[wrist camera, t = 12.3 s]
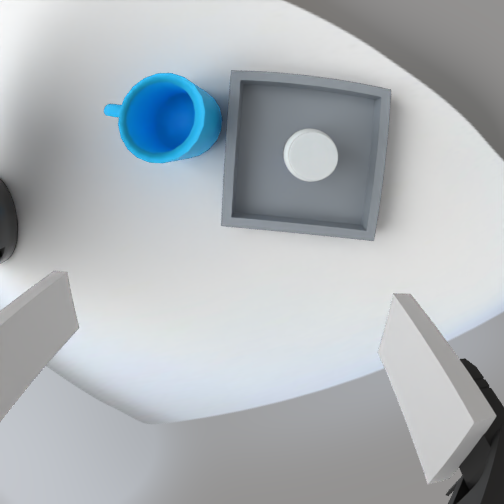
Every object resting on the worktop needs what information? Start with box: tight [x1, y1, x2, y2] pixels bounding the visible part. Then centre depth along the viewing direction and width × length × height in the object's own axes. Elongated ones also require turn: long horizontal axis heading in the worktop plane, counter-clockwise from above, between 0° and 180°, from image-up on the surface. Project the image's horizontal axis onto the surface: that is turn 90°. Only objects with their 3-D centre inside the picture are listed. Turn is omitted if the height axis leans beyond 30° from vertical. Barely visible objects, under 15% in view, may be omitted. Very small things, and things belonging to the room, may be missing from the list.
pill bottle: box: [283, 128, 338, 182], centre depth 28 cm, size 5×5×8 cm
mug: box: [104, 73, 222, 163], centre depth 29 cm, size 12×8×8 cm
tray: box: [221, 70, 391, 241], centre depth 31 cm, size 16×16×3 cm
